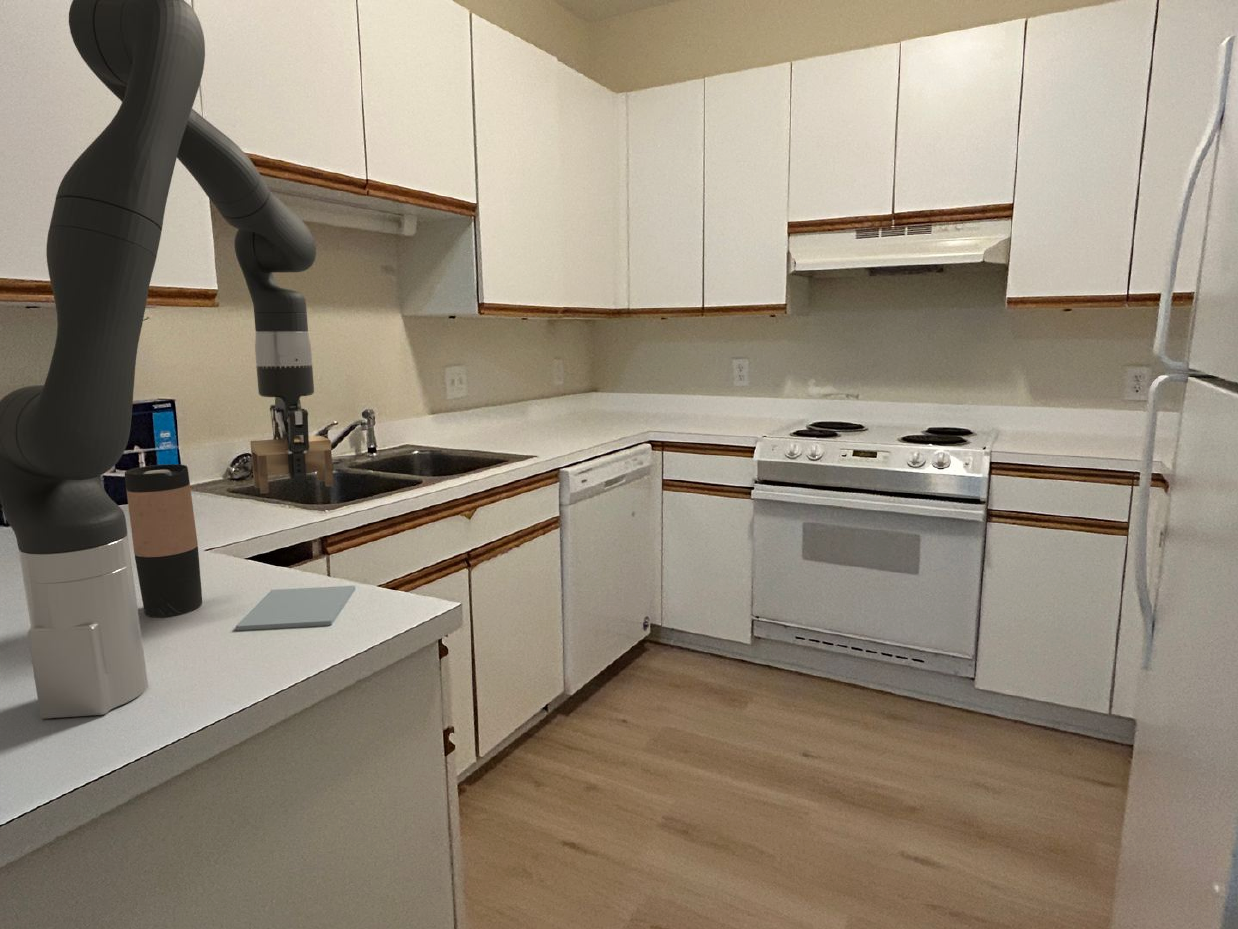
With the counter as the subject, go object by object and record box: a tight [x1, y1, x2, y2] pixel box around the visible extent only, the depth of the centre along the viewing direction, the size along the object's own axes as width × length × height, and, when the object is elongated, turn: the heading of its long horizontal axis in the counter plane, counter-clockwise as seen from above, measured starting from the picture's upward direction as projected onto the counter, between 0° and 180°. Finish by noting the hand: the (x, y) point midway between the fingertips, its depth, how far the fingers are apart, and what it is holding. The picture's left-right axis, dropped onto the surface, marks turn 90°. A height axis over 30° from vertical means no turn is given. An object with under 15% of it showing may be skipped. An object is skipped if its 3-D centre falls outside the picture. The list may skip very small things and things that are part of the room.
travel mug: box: [124, 463, 203, 618], centre depth 106 cm, size 8×8×20 cm
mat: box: [235, 585, 356, 632], centre depth 106 cm, size 14×12×1 cm
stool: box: [250, 435, 335, 494], centre depth 114 cm, size 10×6×7 cm, turn 124°
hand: (293, 475), depth 114 cm, fingers closed on stool, 6 cm apart
